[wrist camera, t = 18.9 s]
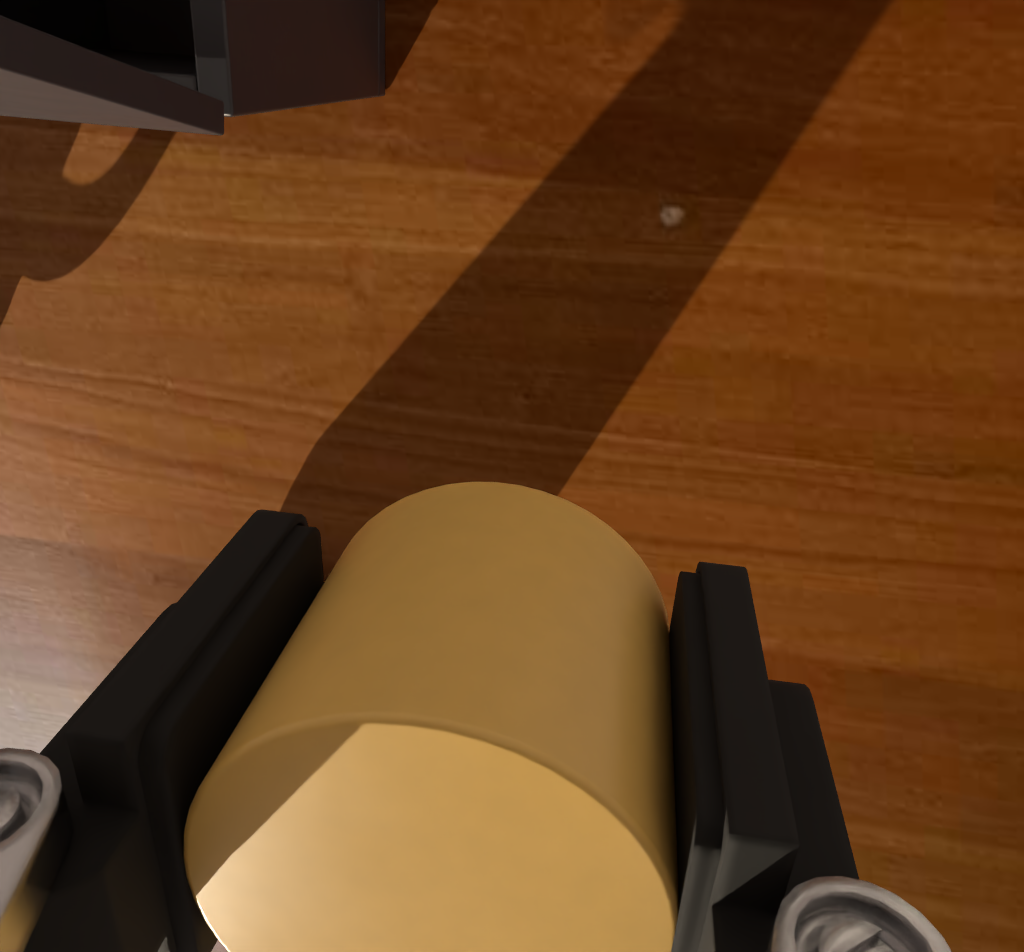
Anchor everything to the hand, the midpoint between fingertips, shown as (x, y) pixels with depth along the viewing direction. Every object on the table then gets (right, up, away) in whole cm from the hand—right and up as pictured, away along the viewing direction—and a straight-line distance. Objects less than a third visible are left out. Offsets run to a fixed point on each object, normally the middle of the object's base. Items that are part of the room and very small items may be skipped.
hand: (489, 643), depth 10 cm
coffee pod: (0, 0, 0) cm, 0 cm away
